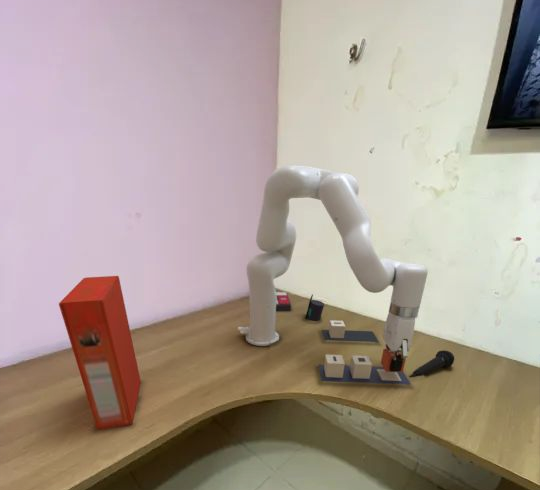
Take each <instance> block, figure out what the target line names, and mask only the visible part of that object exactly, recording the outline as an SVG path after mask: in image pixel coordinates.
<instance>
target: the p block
mask: <svg viewBox="0 0 540 490" xmlns="http://www.w3.org/2000/svg"><path fill="white" fill-rule="evenodd" d="M349 366H350V372H351V375H352V377H353V378H361V379H369V378H370V373H371V368H372V367H373V363H372V361H371V359H370V357H369V355H351V357H350V364H349Z"/></svg>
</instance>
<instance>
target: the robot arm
mask: <svg viewBox="0 0 540 490" xmlns="http://www.w3.org/2000/svg"><path fill="white" fill-rule="evenodd" d="M359 186H360V185H359V183H358V180H357V179H356V178H355V177H354V176H353V175H352V174H349V173H346V172H339V171H333V170H328V169H323V168H320V167H316V166H315V167H314V166H307V165H301V164H287V165H282V166H280V167H278V168H276V169H275V170H274V171H272V172H271V173H270V174H269V176H268V178H267V179H266V182H265V184H264V189H263V196H262V197H263V198H262V199H263V200H262V205H261V209H260V215H259V219H258V224H257V225H258V226H257V230H256V237H255V241H256V242H255V243H256V246H257V247H258V249H259V250H260V251H262V253H259V254H256V255H254V256H253V257H251V258H250V259H249V260H248V261H247V264H246V277H247V282H248V292H249V293H248V294H249V295H248V299H249V325H247V326H246V327H245V326H238V327H237V331H238V333H240V335H245V340H246V342H248V343H249V344H250V345H254V346H257V347H258V346H259V347H268V346H271V344H273V343H276V342H277V341H280V334H279V333H278V332H277V331H276V326H277V325H276V323H277V322H276V321H277V320H276V319H277V311H276V292H277V289H276V286H275V281H274V280H275V279H277V278H279V277H281V276H283V275H285V274H286V273H287V271H288V270H289V269H290V268H289V267H290V265H291V262H292V257H293V253H294V249H295V245H296V241H297V230H296V227H295V224H294V223H293V222H291V221H290V220H289V219H288V217H289V216H290V215H289V214H290V200H291V199H305V198H309V199H310V198H311V199H314V200H319V201H320V202H321V203H322V205H323V207H324V209H325V211H326V212H327V213H328V215H329V217H330V219H331V220H332V222H333V224H334V226H335V228H336V230H337V231H338V234H339V235H340V237H341V240H342V247H343V250H344V254H345V257H346V261H347V263H348V265H349V267H350V269H351V271H352V273H353V274H354V276H355V278H356V280H357V282H358V283H359V285H360V286H361V287H362V288H363V289H364V290H365V291H367V292H368V293H372V294H378V293H382V292H383V291H385V290H387V288H388V287H390V286H392V293H391V297H390V302H389V306H388V313H387V317H386V320H385V324H384V327H383V331H382V339H383V341H384V342H385V349H390V350H391V351H394V353H393V359H391V364H390V368H389V370H390V371H398V372H400V371H401V368H402V364H403V361H404V359H405V358H406V359H408V358H409V353H408V352H409V351H410V350H411V347H412V342H413V339H414V333H415V332H414V331H415V325H416V324H415V323H416V319H417V318H418V317H419V311H420V307H421V303H422V299H423V295H424V291H425V286H426V282H427V279H428V275H429V274H428V273H429V270H428V268H427V266H425V265H423V264H420V263H414V262H403V261H398V260H395V259H392V258H388V257H382V258H381V257H379V256H378V254H377V251H376V250H375V248H374V245H373V242H372V238H371V229H372V223H371V218H370V216H369V215H368V213H367V211H366V209H365V208H364V206H363V204H362V202H361V200H360V198H359V197H358V195H359V191H360V189H359V188H360V187H359ZM397 352H401V354H398V355H397Z"/></svg>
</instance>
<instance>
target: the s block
mask: <svg viewBox="0 0 540 490" xmlns="http://www.w3.org/2000/svg"><path fill="white" fill-rule="evenodd" d="M393 353H394V351H391V350H390V349H387V348H383V350H382V355H381V359H380V364H381V367H383V368H384V370H385V372H398V371H390V370H389V368H390V364H391V359H393ZM398 354H401V352H397V355H398ZM406 360H407V358H405V359H404V361H403V364H402V368H401V371H400V372H403V373H404V369H405V364H406Z"/></svg>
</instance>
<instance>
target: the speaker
mask: <svg viewBox="0 0 540 490" xmlns="http://www.w3.org/2000/svg"><path fill="white" fill-rule="evenodd" d="M313 297H314V294H311V296H310V298H309V303H308V306H307V309H306V314H305V317H304V319H307V320H308V321H311V322H319V321H320V320H321V318H322V314H323V311H324V306H325V303H324V302H322V301H321V300H318V299H313Z"/></svg>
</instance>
